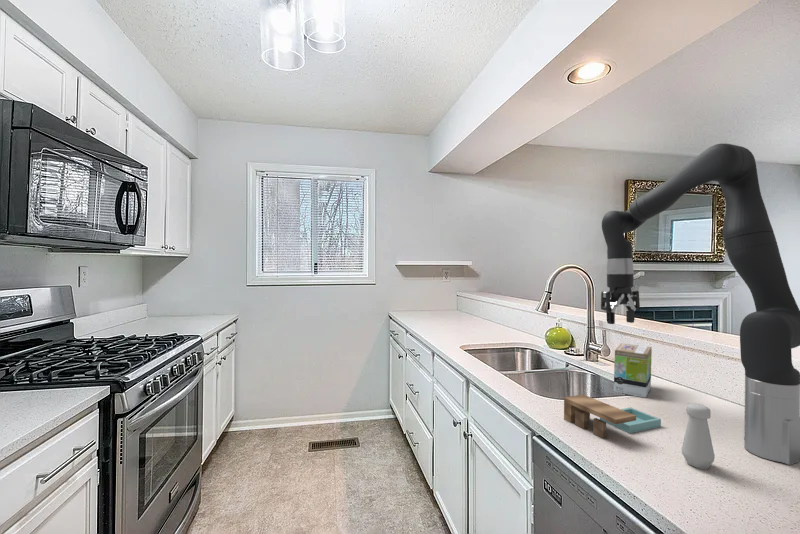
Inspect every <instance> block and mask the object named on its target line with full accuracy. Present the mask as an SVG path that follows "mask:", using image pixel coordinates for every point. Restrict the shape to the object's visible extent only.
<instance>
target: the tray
mask: <svg viewBox="0 0 800 534" xmlns="http://www.w3.org/2000/svg"><path fill="white" fill-rule="evenodd" d="M621 410H623V411H626V412H629V413H631V414H634V415H636V420H635V421H630V422H626V423H621V424H613V423H611V422H609V421H606V420H604V419H602V418H600V417H599V419H600V420H602V421H604V422H606V425H609V426H611V427H613V428H616V429H618V430H621V431H622V432H624V433H628V434H633V433H636V432H641V431H646V430H650V429H655V428H660V427H661V426H662V419H661V418H658V417H656V416H654V415H651V414H650V413H649V414H648V413H645V412H643V411H640V410H638V409H636V408H633V407H625V408H621Z"/></svg>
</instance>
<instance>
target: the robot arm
mask: <svg viewBox="0 0 800 534" xmlns="http://www.w3.org/2000/svg"><path fill="white" fill-rule="evenodd" d="M756 162H757V161H756V159H755V156H754V154H753V152H752V151H751V150H749V149H748V148H747V147H744V146H740V145H738V144H737V145H736V144H732V143H717V144H714V145H711V146H709V147H707V148H706V149H704V151H702V152H701V153H699V154H698V155H697V156H696V157H694V158H693V159H692V160H691V161H690V162H688V163H687V164H686V165H684V166H683V167H682V168H681V169H679V171H677V172H676V173H674V174H673V175H672V176H671V177H669V178H668V179H666V180H665V181H664V182H662V183H661V184H659V185H657V186H656V187H655V188H652V189H651V190H649V191H647V192H646V193H644V194H643V195H641V196H639V197H638V198H636V199H634V200H633V201H632V202H631V203H629V208H628V210H625V211H624V210H623V211H621V210H609V211H607V212H606V213H604V215H603V218H602V220H601V229H602V234H603V238H604V241H605V244H606V248H607V252H606V253H607V254H606V255H607V257H606V258H607V261H606V286H607V288H609V290H608V291H601V294H600V309H601V310H602V311H605V313H606V322H607V325H615V323H616V317H615V316H616V314H615V311H616V309H617V308H618V307H619V306H620V305H622V306H624V307H625V309H626V311H625V313H626V322H627V323H631V324H633V323H634V322H635V320H636V318H635V311H636V310H640V309H641V306H640V304H641V303H640V291H639V290H635V289H634V290H632V288H634V287H635V279H634V276H635V275H634V272H635V271H634V262H633V245H632V242H631V241H629V240H628V239H626V238H625V235H624V234H628V233H631V232H633V231H635V230H636V229H638V228H639V227H640V226H642V225H643V224H644V223H645V222H646V221H648V220H649V219H652V218H653V217H655V216H657V215H659V214H661V213H663V212H664V211H666V210H667V209H669V208H671V207H672V206H673V205H674V204H675V203H676V202H677V201H678V200H679V199H680V198H681V197H682V196H684V195H685V194H686V193H688V192H689V191H691V190H693V189H695V188H698V187H700V186H702V185H704V184H707V183H710V182H716V183H718V185H719V186H720V189H721V192H722V195H723V197H724V201H725V213H724V219H723V225H722V239H723V243H724V246H725V250H726V254H727V256H728V260H729V261H730V263H731V266H732V267H733V268H734V270H735V271H736V273H737V274H738V275H739V277H740V278H741V279H742V281H744V283H745V284H746V286H747V288H748V289H749V292H750V293H751V296H752V299H753V302H754V307H755V308H754V309H755V311H754V312H750V313H748V314H747V315H746V316H745V317H744V318H743V319H742V321H741V324H740V328H739V344H740V345H739V346H740V347H739V348H740V360H741V364H742V366H743V369H744V424H743V425H744V429H743V430H744V435H743V440H744V441H743V442H744V443H743V445H744V448H745V450H746V451H747V452H749V453H751V454H753V455H755V456H757V457H760V458H763V459H766V460H770V461H773V462H778V463H782V464H785V465H788V466H789V465H794V464H797V463H800V371H799V370H798V369H797V368H795V367H794V365H793V360H792V359H793V358H792V357H793V356H792V349H795V348H798V347H799V346H800V308H799V306H798V304H797V301H796V300H795V297H794V295H793V292H792V290H791V287H790V285H789V280H788V278H787V277H788V276H787V274H786V270H785V267H784V263H783V260H782V257H781V253H780V250H779V246H778V242H777V239H776V235H775V233H774V229H773V227H772V223H771V221H770V218H769V214H768V211H767V208H766V205H765V202H764V200H763V196H762V192H761V188H760V183H759V177H758V171H757V170H758V169H757V163H756Z"/></svg>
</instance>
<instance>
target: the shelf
mask: <svg viewBox="0 0 800 534" xmlns="http://www.w3.org/2000/svg"><path fill="white" fill-rule="evenodd" d="M621 409H622V408H621ZM621 409H620V408H618V407H616V406H614V405H610V404H608V403H605V402H603V401H601V400H597V399H596V398H593V397H590V396H588V395H585V394H579V395H578V394H577V395H576V394H575V395H571V396H564V397H563V420H565V421H566V422H569V423H570V424H572V423H574V426H577V427H578V428H580V429H583V430H586V429H587V428H588V426H587V425H588V420H591V415H594V416H596V417H595V418H593V419H592V422H593V424H592V426H593V429H592V431H593V432H592V433H593V435H595V436H597V437H598V438H601V439H602V440H604V439H607V423H606V422H604V421H602V420H600V418H602V419H604V420H606V421H609V422H611V423H613V424H621V423H626V422H630V421H635V420H636V415H634V414H631V413H629V412H626V411H623V410H621ZM597 417H598V418H597Z"/></svg>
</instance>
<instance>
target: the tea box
mask: <svg viewBox="0 0 800 534" xmlns="http://www.w3.org/2000/svg"><path fill="white" fill-rule="evenodd" d="M652 348H653V347H652V346H645V345H638V344H630V343H620V344H619V345H618V346H617V347H616V348H615V349H614V366H613V367H614V369H613V371H614V374H613V392H614V393H619V394H624V395H629V396H634V397H640V398H645V399H646V398H647V396H648V394H649V391H650V389H651V387H652V356H653V355H652V350H653V349H652Z"/></svg>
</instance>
